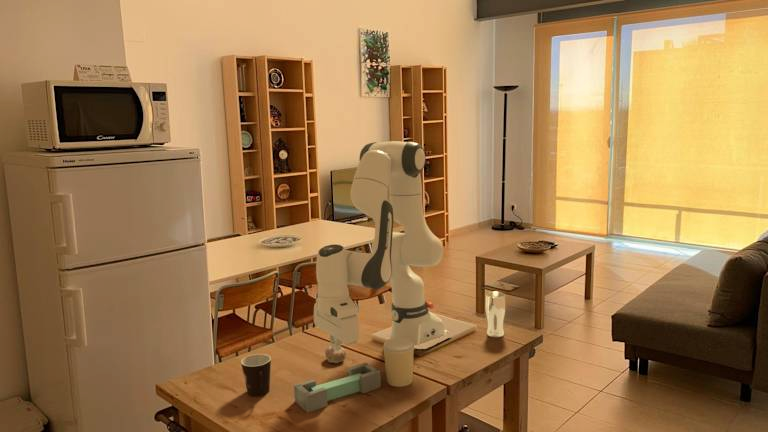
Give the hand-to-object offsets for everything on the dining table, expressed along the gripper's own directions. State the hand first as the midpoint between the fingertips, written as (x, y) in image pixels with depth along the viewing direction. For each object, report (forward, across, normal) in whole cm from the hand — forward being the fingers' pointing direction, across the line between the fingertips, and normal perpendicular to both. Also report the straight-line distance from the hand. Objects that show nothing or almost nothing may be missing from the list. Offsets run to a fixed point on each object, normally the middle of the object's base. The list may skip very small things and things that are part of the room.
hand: (336, 348), depth 168 cm
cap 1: (+14, 0, -9) cm, 17 cm away
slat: (+14, 0, 0) cm, 14 cm away
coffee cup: (+14, +4, +19) cm, 24 cm away
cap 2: (+14, 0, +9) cm, 17 cm away
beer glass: (+14, -4, +67) cm, 69 cm away
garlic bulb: (+14, -21, +11) cm, 28 cm away
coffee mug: (+14, -15, -19) cm, 28 cm away
